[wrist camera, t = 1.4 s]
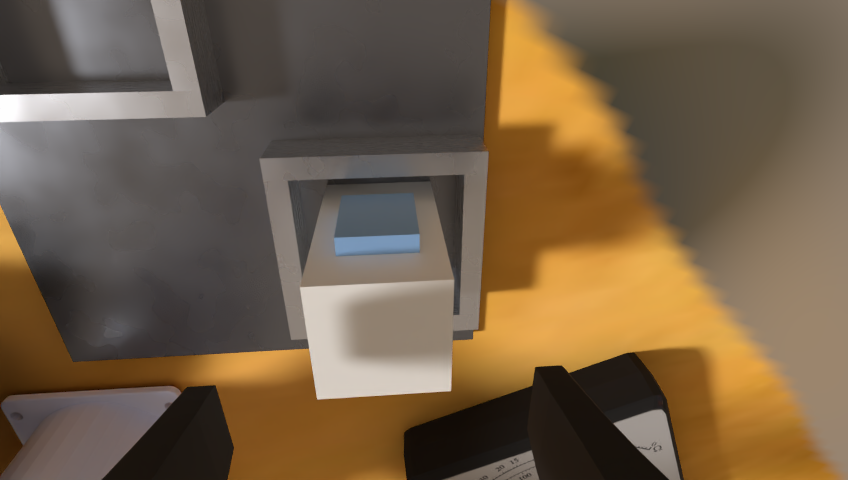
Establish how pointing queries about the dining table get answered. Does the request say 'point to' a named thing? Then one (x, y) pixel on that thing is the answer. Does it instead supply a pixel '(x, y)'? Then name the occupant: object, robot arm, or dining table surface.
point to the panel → (226, 155)
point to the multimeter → (508, 437)
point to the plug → (379, 292)
